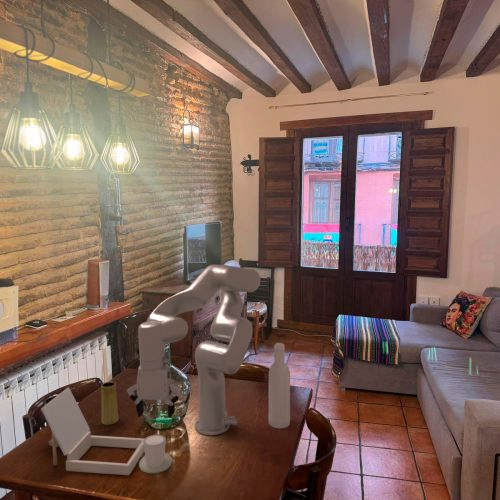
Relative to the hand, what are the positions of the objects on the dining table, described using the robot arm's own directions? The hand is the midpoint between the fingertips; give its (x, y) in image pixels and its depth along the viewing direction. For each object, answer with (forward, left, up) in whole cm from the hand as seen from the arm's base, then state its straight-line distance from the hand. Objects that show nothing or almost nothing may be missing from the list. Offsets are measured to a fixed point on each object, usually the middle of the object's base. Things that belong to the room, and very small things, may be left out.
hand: (155, 415), depth 134 cm
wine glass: (+37, -8, -16) cm, 41 cm away
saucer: (0, +1, -16) cm, 16 cm away
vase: (+26, -23, -16) cm, 39 cm away
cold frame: (+20, 0, -16) cm, 25 cm away
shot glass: (+1, +1, -15) cm, 15 cm away
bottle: (-37, -28, -16) cm, 49 cm away
